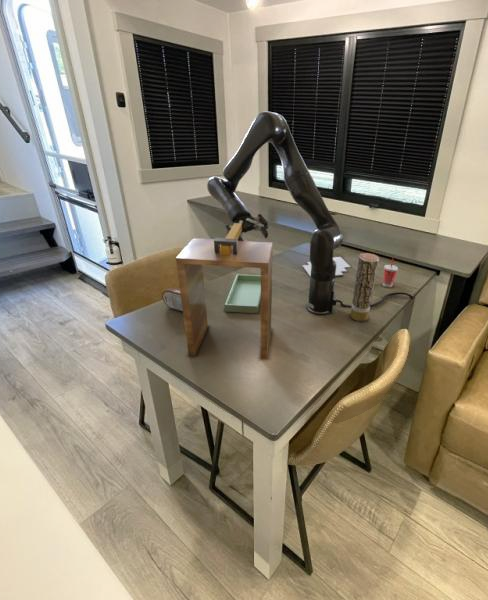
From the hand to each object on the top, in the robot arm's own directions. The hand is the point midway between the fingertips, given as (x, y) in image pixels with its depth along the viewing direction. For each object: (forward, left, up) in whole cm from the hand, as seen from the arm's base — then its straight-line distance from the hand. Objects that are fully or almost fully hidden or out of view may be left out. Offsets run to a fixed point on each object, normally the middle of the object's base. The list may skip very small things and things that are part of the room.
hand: (255, 240), depth 114 cm
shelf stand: (+5, +22, -28) cm, 35 cm away
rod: (+5, +15, +4) cm, 16 cm away
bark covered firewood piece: (-40, +3, -28) cm, 49 cm away
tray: (+5, -10, -28) cm, 30 cm away
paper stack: (-31, -44, -28) cm, 61 cm away
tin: (+27, +4, -28) cm, 39 cm away
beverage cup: (-58, -27, -27) cm, 70 cm away
